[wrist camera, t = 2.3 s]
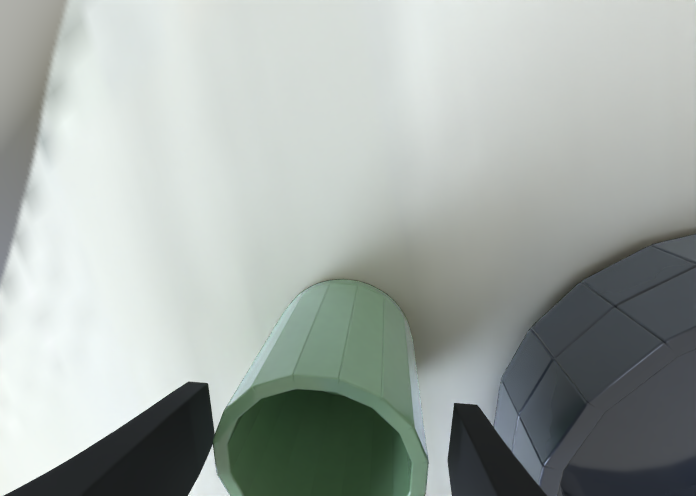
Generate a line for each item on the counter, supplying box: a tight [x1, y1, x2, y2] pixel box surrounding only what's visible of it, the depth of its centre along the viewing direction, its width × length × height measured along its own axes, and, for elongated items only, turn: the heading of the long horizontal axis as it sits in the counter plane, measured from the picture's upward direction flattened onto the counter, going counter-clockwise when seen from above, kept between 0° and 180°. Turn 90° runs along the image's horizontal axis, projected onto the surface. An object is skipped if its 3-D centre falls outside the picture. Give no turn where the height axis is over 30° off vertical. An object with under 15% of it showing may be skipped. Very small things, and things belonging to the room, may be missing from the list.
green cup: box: [213, 280, 429, 496], centre depth 12 cm, size 5×5×6 cm
